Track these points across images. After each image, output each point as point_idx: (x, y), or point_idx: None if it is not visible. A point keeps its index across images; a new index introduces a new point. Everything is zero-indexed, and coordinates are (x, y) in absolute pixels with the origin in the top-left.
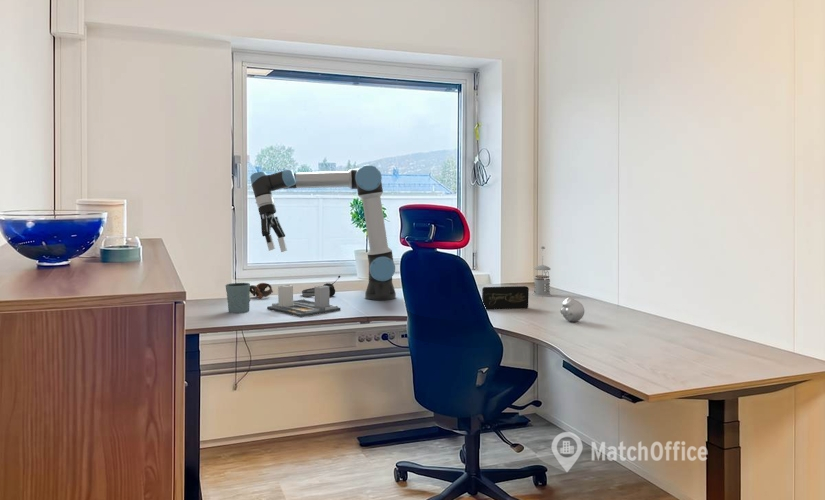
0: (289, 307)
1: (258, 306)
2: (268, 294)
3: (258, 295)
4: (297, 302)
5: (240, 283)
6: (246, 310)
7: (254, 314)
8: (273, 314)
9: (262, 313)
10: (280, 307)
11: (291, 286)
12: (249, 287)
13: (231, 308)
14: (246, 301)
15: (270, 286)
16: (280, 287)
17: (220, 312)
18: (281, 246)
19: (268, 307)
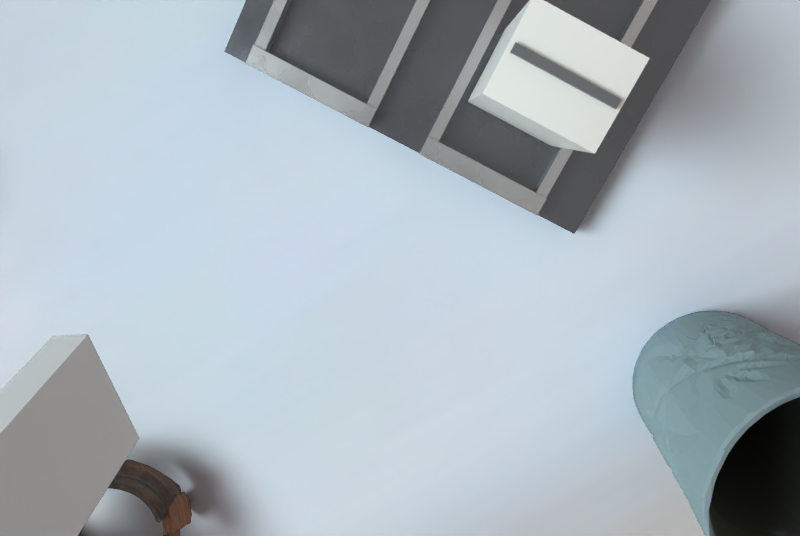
0: None
1: (474, 354)
2: (136, 466)
3: (187, 523)
4: (400, 42)
5: (710, 523)
6: (734, 314)
7: (786, 215)
8: (758, 72)
9: (736, 177)
10: None
11: (550, 5)
12: (789, 374)
13: (794, 410)
14: (771, 335)
15: None
16: (615, 111)
17: None
18: (55, 507)
19: (582, 216)
